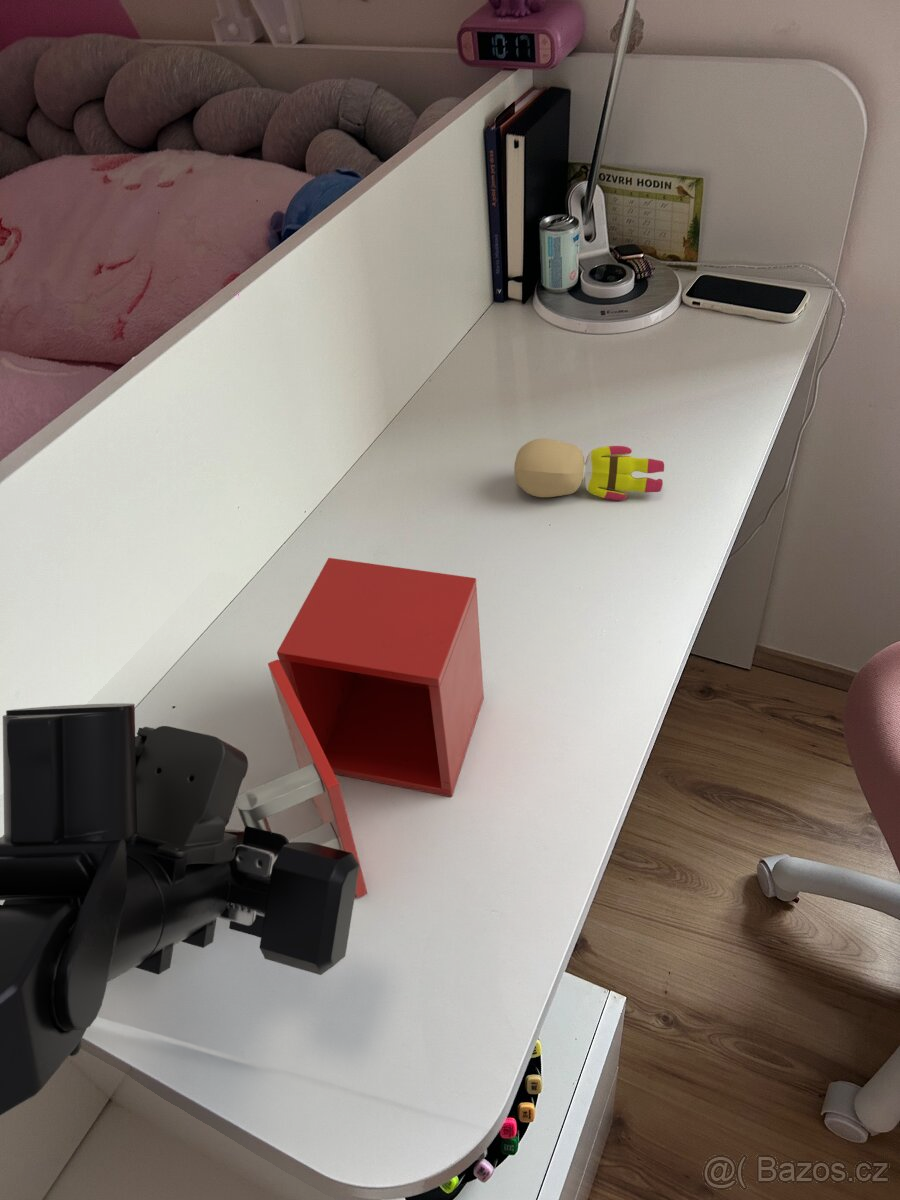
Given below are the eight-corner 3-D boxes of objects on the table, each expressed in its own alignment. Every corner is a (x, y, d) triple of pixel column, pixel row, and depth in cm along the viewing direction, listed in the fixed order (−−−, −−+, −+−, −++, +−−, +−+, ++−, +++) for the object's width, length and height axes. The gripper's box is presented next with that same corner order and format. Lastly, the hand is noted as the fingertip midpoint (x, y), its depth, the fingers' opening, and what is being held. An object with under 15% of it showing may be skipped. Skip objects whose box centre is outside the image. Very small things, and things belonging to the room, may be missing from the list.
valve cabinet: (452, 797, 70) (438, 679, 61) (310, 769, 73) (276, 652, 63) (484, 697, 77) (476, 577, 67) (353, 675, 80) (328, 557, 70)
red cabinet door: (286, 932, 63) (243, 825, 54) (238, 804, 71) (192, 691, 61) (367, 893, 65) (339, 783, 55) (311, 772, 72) (278, 658, 63)
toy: (665, 443, 95) (521, 433, 98) (667, 450, 88) (512, 439, 91) (659, 501, 97) (517, 489, 99) (660, 511, 90) (507, 499, 92)
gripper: (311, 788, 43) (417, 749, 58) (-15, 713, 48) (160, 696, 63) (273, 1026, 43) (389, 926, 58) (-48, 925, 48) (135, 857, 63)
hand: (264, 843), depth 60 cm, fingers closed
